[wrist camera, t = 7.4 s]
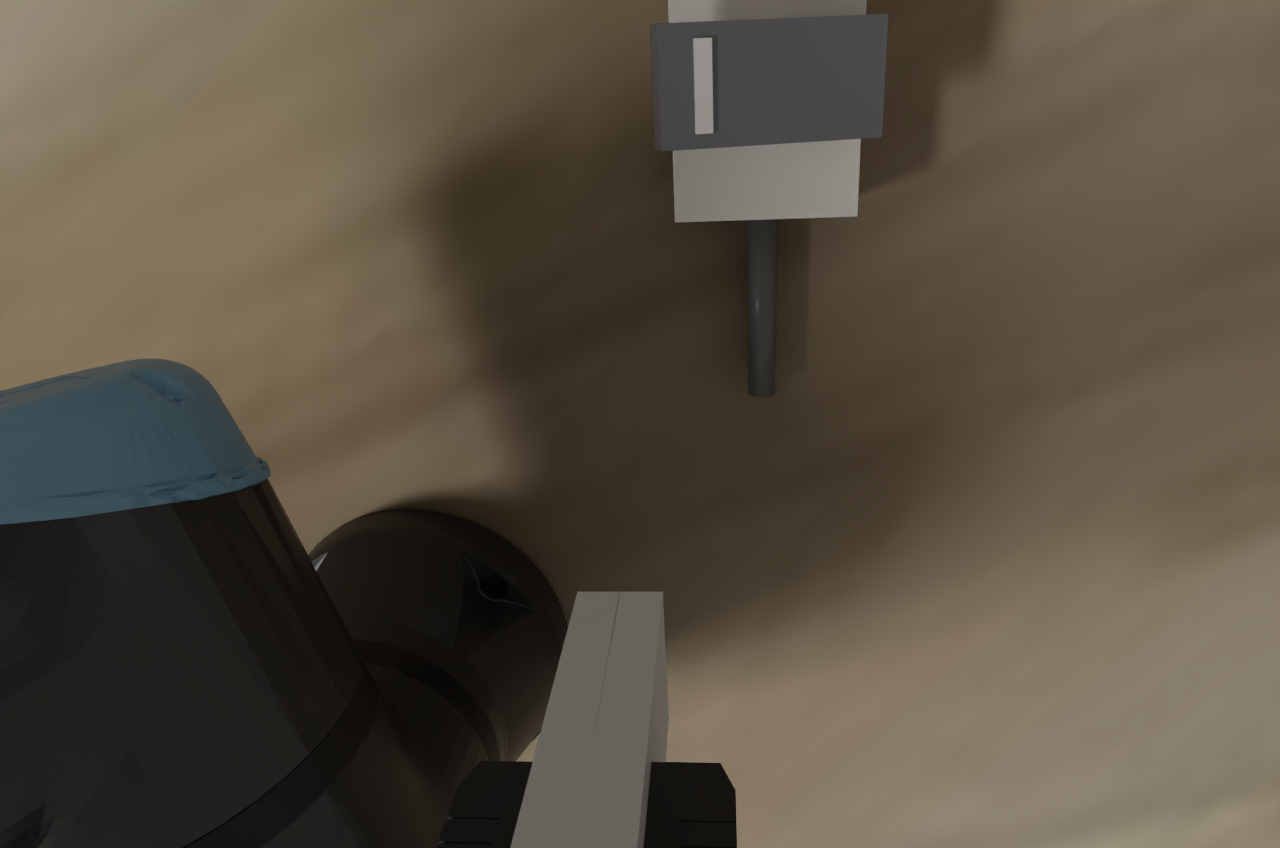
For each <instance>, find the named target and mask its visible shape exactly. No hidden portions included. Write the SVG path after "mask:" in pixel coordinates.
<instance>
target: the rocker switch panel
mask: <svg viewBox="0 0 1280 848" xmlns="http://www.w3.org/2000/svg"><path fill="white" fill-rule="evenodd" d="M866 6H867V0H668V17H669V23H679V22H703V21H726V20H750V19H774V18H798V17H822V16H846V15H866ZM860 145H861V139H848V140H833V141H817V142H801V143H786V144H770V145H755V146H739V147H723V148H708V149H692V150H676V151H673V180H674V213H675V222H705V221H736V220H748V394H749V395H752V396H756V397H767V396H771V395H774V394H775V355H776V261H777V219H797V218H828V217H857V215H858V192H859V169H860Z"/></svg>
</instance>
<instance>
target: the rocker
mask: <svg viewBox="0 0 1280 848" xmlns="http://www.w3.org/2000/svg"><path fill="white" fill-rule="evenodd" d="M888 16H889V14H869V15H846V16H822V17H798V18H774V19H750V20H726V21H703V22H679V23H656V24H652V25H650V45H651V71H652V98H653V124H654V149H656V150H659V151H676V150H692V149H708V148H723V147H739V146H755V145H770V144H786V143H801V142H817V141H833V140H848V139H864V138H880V137H882V132H883V113H884V93H885V74H886V55H887V35H888Z"/></svg>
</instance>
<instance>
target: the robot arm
mask: <svg viewBox="0 0 1280 848" xmlns="http://www.w3.org/2000/svg"><path fill="white" fill-rule="evenodd" d="M270 474H271V471H270V468H269V466H268V464H267V462H266V461H264V460H263V459H261V458H260V457H256V455H255V454H254V452H253V451H252V449H251V447H250V446H249V444H248V442H247V441H246V439H245V437H244V436H243V434H242V433H241V431H240V429H239V428H238V426H237V424H236V423H235V421H234V419H233V418H232V416H231V414H230V413H229V411H228V410H227V408H226V406H225V405H224V403H223V401H222V400H221V398H220V396H219V395H218V393H217V391H216V390H215V389H214V387H213V386H212V385H211V384H210V382H209V381H208V380H207V379H205V378H204V377H203V376H202V375H201V374H200V373H198V372H197V371H195V370H194V369H192V368H190V367H188V366H186V365H183V364H181V363H178V362H174V361H169V360H165V359H138V360H131V361H125V362H120V363H115V364H110V365H105V366H101V367H96V368H91V369H87V370H82V371H78V372H74V373H70V374H66V375H61V376H57V377H53V378H49V379H45V380H41V381H38V382H34V383H30V384H26V385H22V386H18V387H14V388H11V389H7V390H3V391H0V848H737V836H736V796H735V789H734V787H733V785H732V783H731V782H730V780H729V778H728V776H727V774H726V773H725V771H724V769H723V767H722V766H721V764H720V763H686V762H666V748H667V734H668V721H669V716H668V693H667V671H666V648H665V626H664V603H663V592H577V595H576V599H575V603H574V607H573V610H572V614H571V618H570V622H569V626H568V630H567V626H566V621H565V618H564V614H563V611H562V609H561V606H560V604H559V601H558V599H557V597H556V595H555V593H554V591H553V590H552V588H551V586H550V584H549V583H548V581H547V580H546V579H545V577H544V576H543V574H542V573H541V572H540V571H539V570H538V568H537V567H536V566H535V565H534V564H533V563H532V562H531V561H530V560H529V559H528V558H527V557H526V556H525V555H524V554H523V553H522V552H521V551H520V550H518V549H517V548H516V547H515V546H513V545H512V544H511V543H509V542H508V541H506V540H505V539H504V538H502V537H500V536H499V535H497V534H495V533H494V532H492V531H490V530H488V529H486V528H484V527H482V526H480V525H478V524H475V523H473V522H470V521H468V520H465V519H462V518H459V517H456V516H452V515H448V514H444V513H438V512H432V511H423V510H395V511H386V512H381V513H376V514H372V515H368V516H365V517H362V518H359V519H356V520H354V521H352V522H349V523H347V524H345V525H343V526H341V527H340V528H338V529H336V530H335V531H333V532H332V533H330V534H329V535H328V536H327V537H325V538H324V539H323V540H322V541H321V542H320V543H319V544H318V545H317V546H316V547H315V548H314V549H313V550H312V551H311V552H310V553H309V555H308V554H307V552H306V551H305V549H304V547H303V545H302V543H301V541H300V539H299V537H298V535H297V533H296V531H295V530H294V528H293V526H292V524H291V522H290V520H289V518H288V516H287V514H286V512H285V511H284V509H283V507H282V505H281V503H280V501H279V499H278V497H277V495H276V493H275V492H274V490H273V488H272V486H271V484H270V482H269V480H268V478H269V477H270ZM539 733H540V736H539V740H538V744H537V748H536V751H535V755H534V759H533V762H516V760H517V759H518V758H519V757H520V755H521V754H522V753H523V752H524V750H525V749H526V748H527V747H528V745H529V744H530V743H531V742H532V741H533V740H534V739H535V738H536V737H537V736H538V734H539Z"/></svg>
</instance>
